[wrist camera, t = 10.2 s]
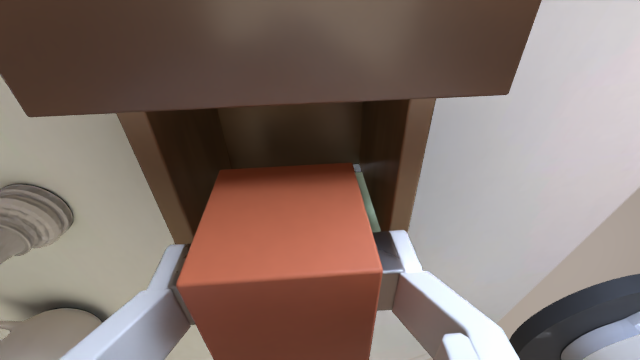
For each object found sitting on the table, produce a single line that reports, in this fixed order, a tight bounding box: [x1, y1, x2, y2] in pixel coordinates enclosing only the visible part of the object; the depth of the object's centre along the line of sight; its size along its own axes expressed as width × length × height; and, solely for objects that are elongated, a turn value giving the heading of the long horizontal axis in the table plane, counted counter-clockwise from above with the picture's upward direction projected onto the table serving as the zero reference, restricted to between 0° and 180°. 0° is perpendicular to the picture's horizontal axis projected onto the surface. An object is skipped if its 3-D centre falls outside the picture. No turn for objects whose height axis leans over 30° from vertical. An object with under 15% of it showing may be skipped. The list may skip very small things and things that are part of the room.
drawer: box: [116, 98, 436, 244], centre depth 14 cm, size 17×10×8 cm, turn 1°
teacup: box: [0, 308, 102, 360], centre depth 25 cm, size 10×8×5 cm
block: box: [176, 163, 383, 360], centre depth 9 cm, size 4×4×4 cm
